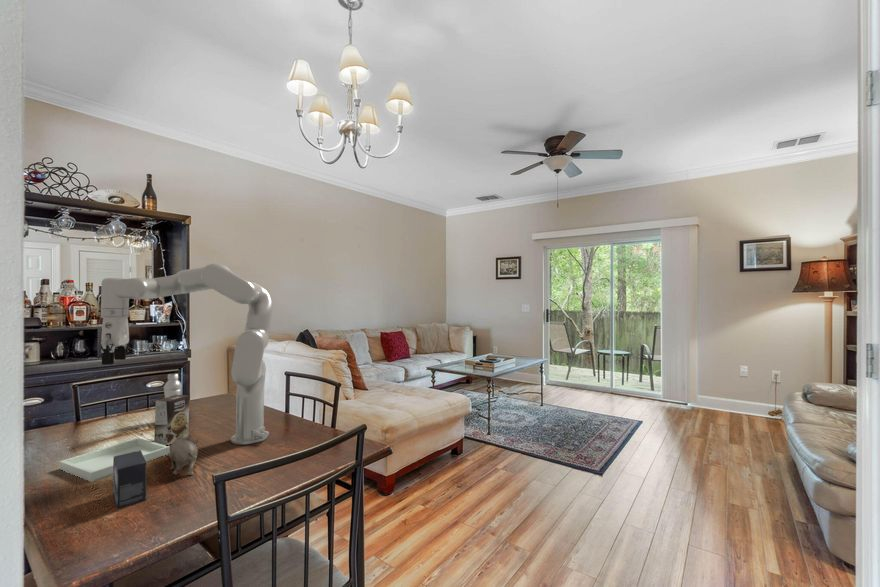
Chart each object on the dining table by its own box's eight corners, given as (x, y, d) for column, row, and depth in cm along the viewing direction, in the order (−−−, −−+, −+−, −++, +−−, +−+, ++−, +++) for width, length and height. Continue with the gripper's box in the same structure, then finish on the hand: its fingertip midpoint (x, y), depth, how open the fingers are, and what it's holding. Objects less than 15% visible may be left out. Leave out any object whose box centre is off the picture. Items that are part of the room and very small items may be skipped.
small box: (111, 493, 107) (112, 455, 107) (141, 486, 112) (141, 449, 112) (115, 509, 99) (116, 468, 100) (147, 500, 104) (147, 461, 104)
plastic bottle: (165, 419, 170) (166, 373, 170) (183, 417, 172) (184, 372, 172) (160, 423, 164) (160, 376, 164) (178, 422, 166) (179, 375, 166)
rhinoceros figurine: (163, 476, 112) (172, 424, 120) (164, 487, 121) (171, 439, 130) (195, 472, 116) (201, 423, 124) (193, 484, 125) (199, 437, 134)
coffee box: (168, 446, 140) (169, 401, 141) (153, 444, 142) (154, 400, 142) (189, 437, 149) (190, 395, 149) (175, 435, 151) (176, 393, 151)
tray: (169, 454, 133) (169, 446, 133) (90, 482, 113) (91, 473, 113) (138, 445, 141) (138, 437, 141) (59, 469, 121) (59, 461, 121)
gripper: (117, 314, 130) (116, 365, 130) (137, 312, 146) (136, 357, 146) (89, 314, 127) (88, 366, 127) (112, 312, 144) (112, 358, 144)
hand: (114, 361), depth 137 cm, fingers open, 9 cm apart
